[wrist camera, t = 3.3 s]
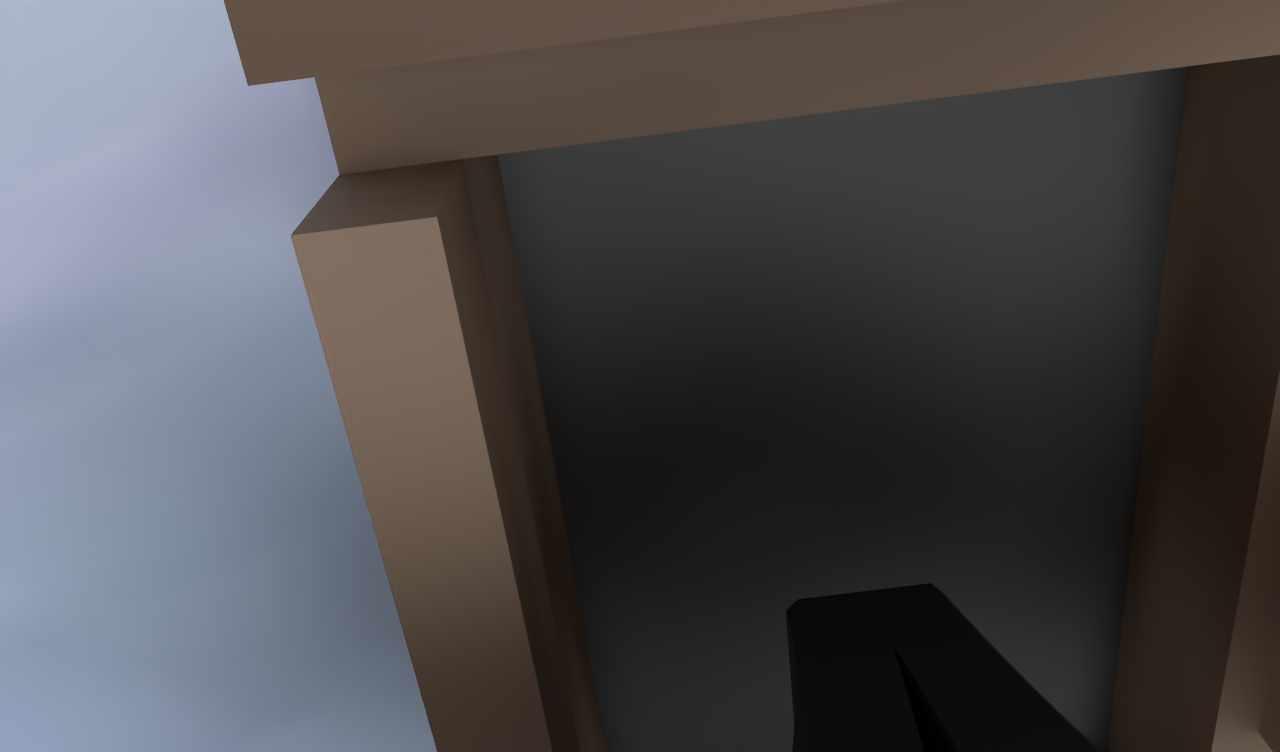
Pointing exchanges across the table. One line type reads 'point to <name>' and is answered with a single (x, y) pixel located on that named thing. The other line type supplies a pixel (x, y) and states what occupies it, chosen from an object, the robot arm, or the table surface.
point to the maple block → (1272, 706)
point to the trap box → (802, 346)
